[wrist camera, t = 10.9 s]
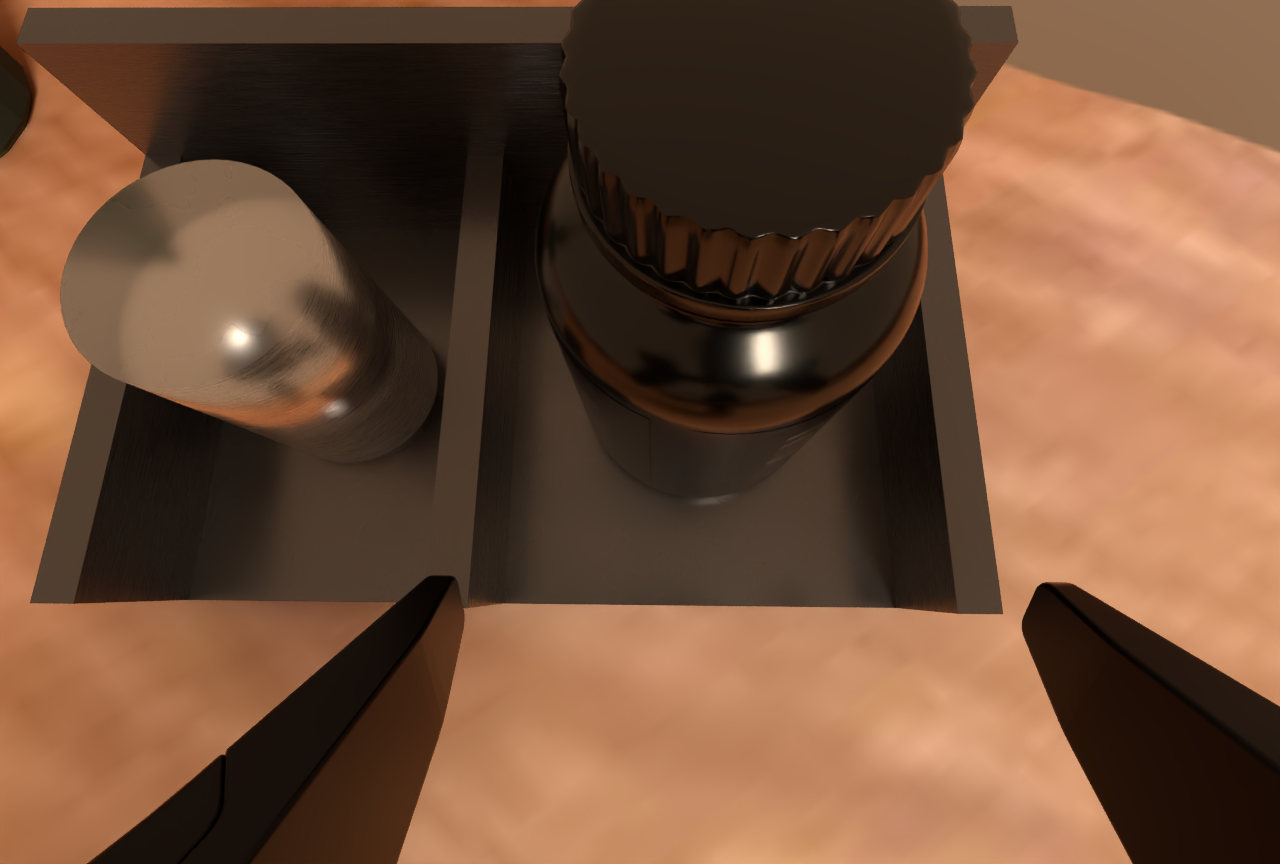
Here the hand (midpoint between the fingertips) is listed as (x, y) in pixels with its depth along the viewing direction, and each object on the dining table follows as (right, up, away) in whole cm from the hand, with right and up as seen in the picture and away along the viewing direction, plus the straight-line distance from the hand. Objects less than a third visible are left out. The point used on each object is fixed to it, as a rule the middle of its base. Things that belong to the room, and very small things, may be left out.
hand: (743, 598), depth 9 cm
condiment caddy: (-4, +4, +10) cm, 12 cm away
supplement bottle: (0, +4, +9) cm, 10 cm away
